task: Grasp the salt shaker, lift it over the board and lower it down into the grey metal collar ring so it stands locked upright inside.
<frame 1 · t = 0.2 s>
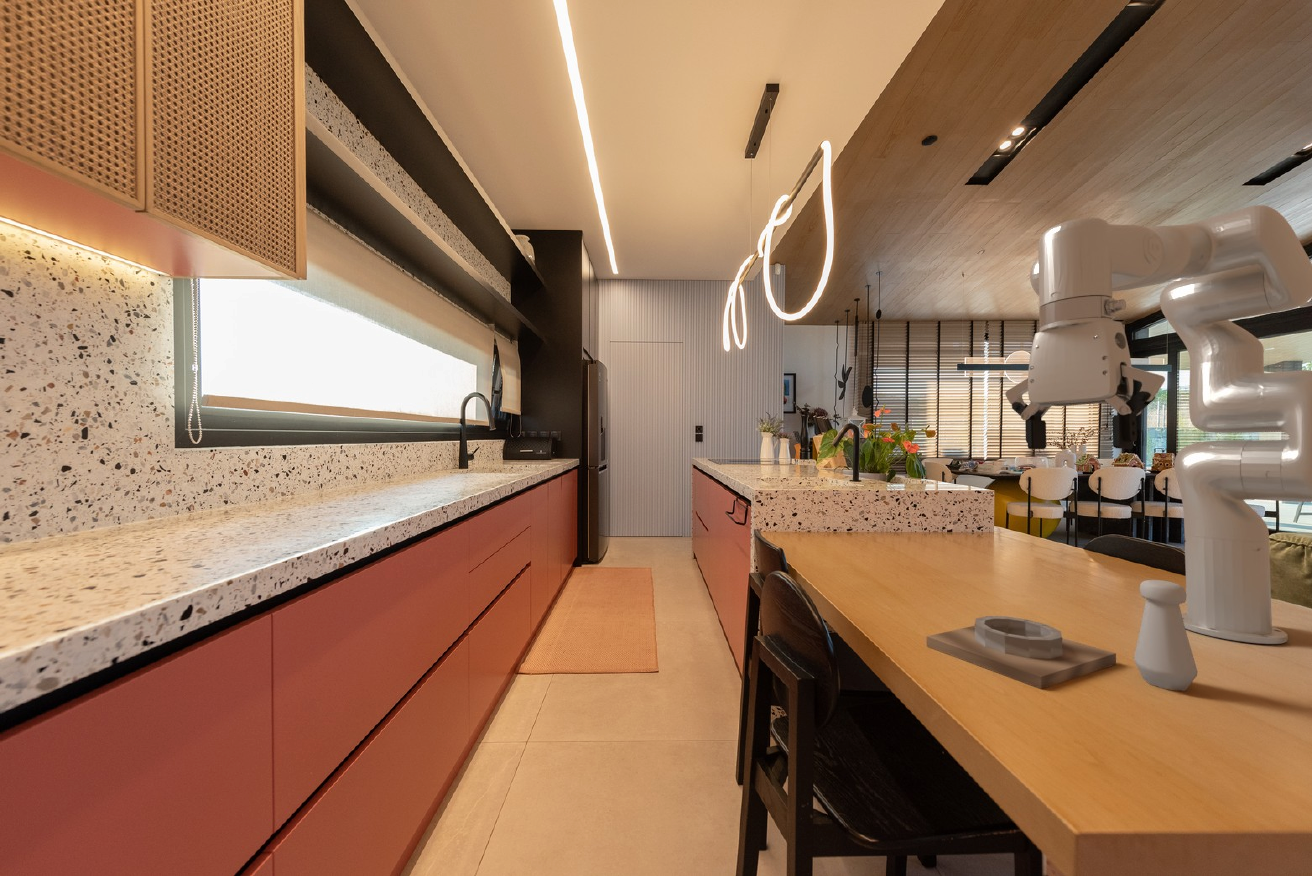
hand: (1077, 448, 68), 30 cm above the table, tool pointing down, fingers open, 9 cm apart
collar board: (1017, 654, 76), on the table
salt shaker: (1165, 685, 67), on the table
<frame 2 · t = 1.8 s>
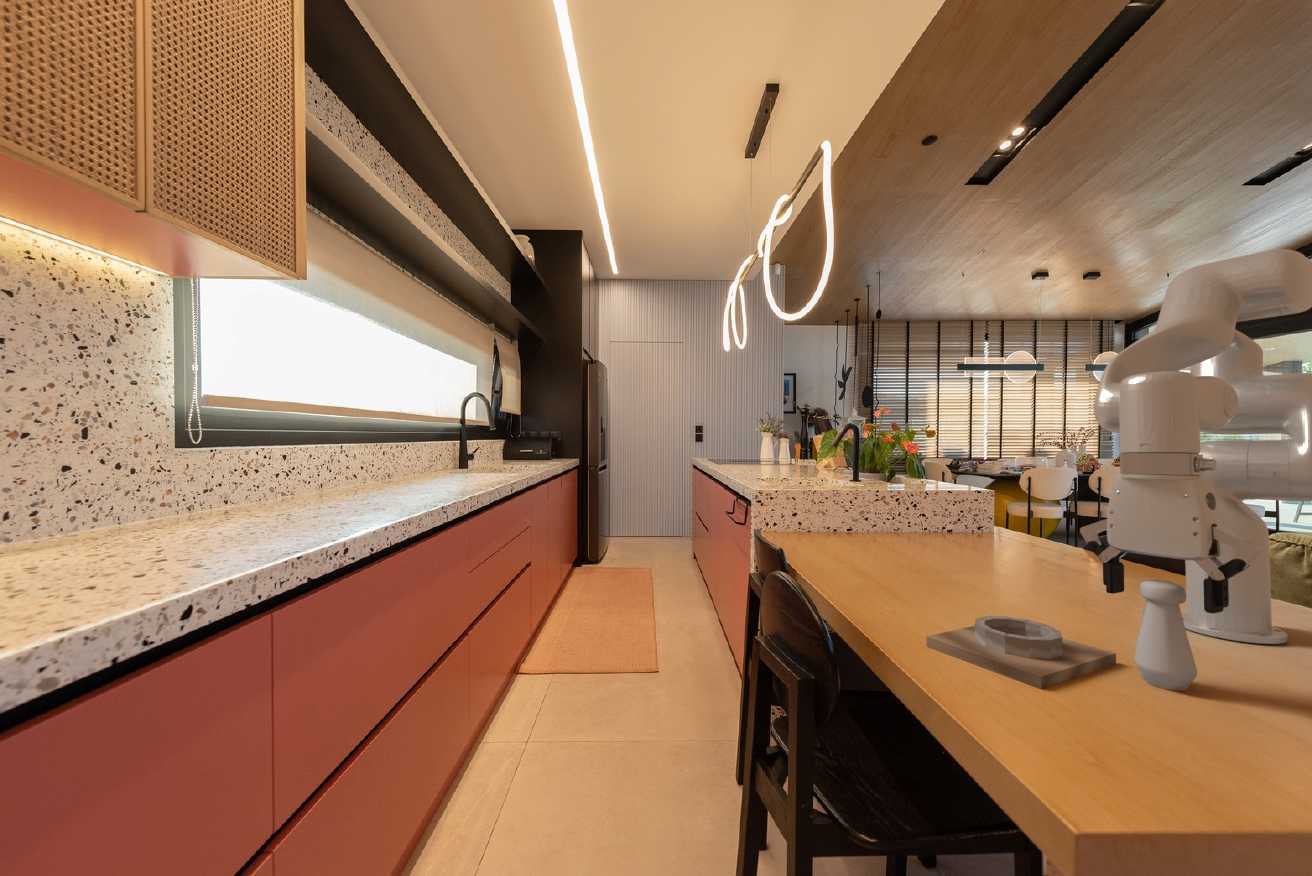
hand: (1161, 601, 67), 11 cm above the table, tool pointing down, fingers open, 9 cm apart
nothing on the table moved.
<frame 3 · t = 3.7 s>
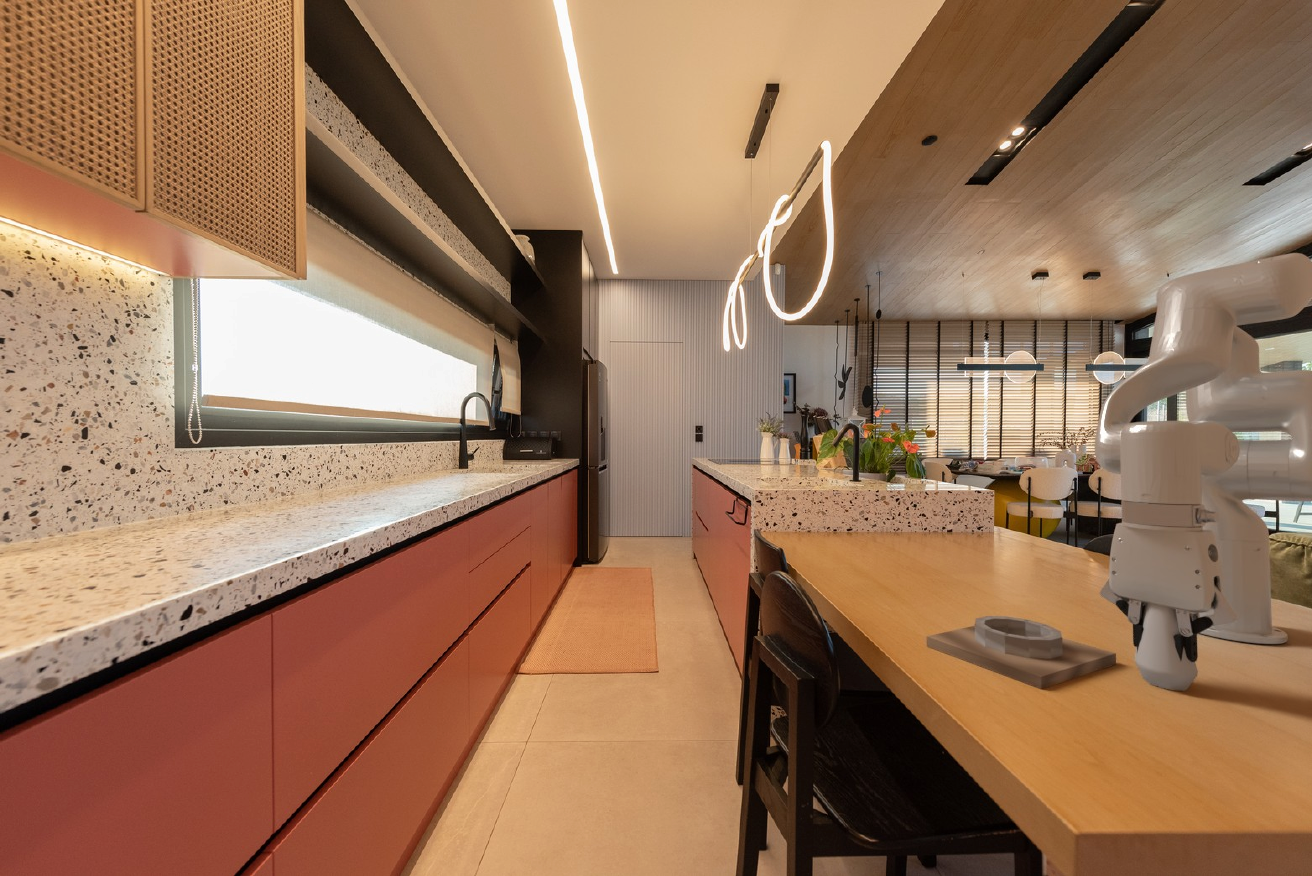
hand: (1164, 658, 67), 3 cm above the table, tool pointing down, fingers closed on salt shaker, 3 cm apart
salt shaker: (1165, 685, 67), on the table, touching gripper
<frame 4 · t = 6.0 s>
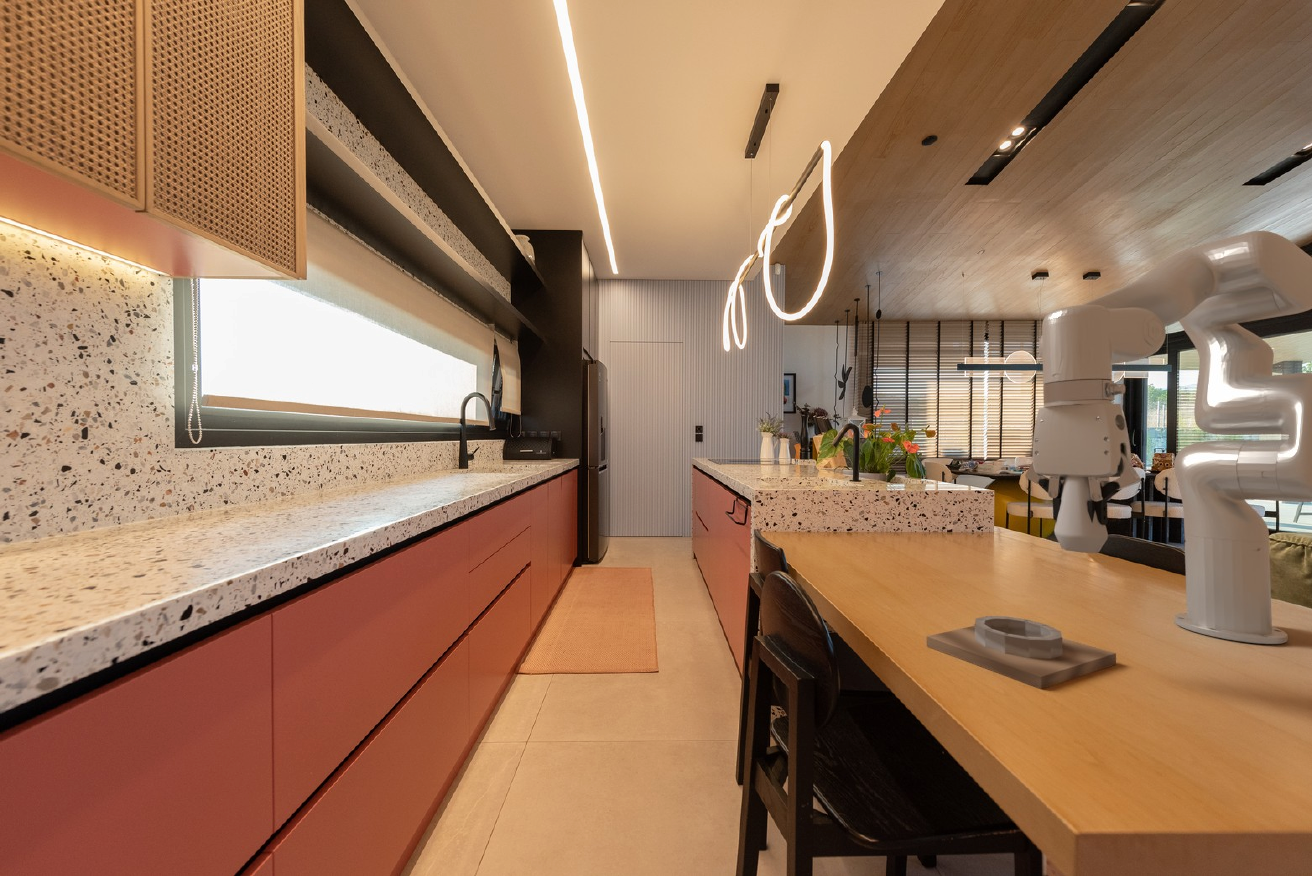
hand: (1079, 526, 72), 19 cm above the table, tool pointing down, fingers closed on salt shaker, 3 cm apart
salt shaker: (1080, 551, 72), point 16 cm above the table, touching gripper
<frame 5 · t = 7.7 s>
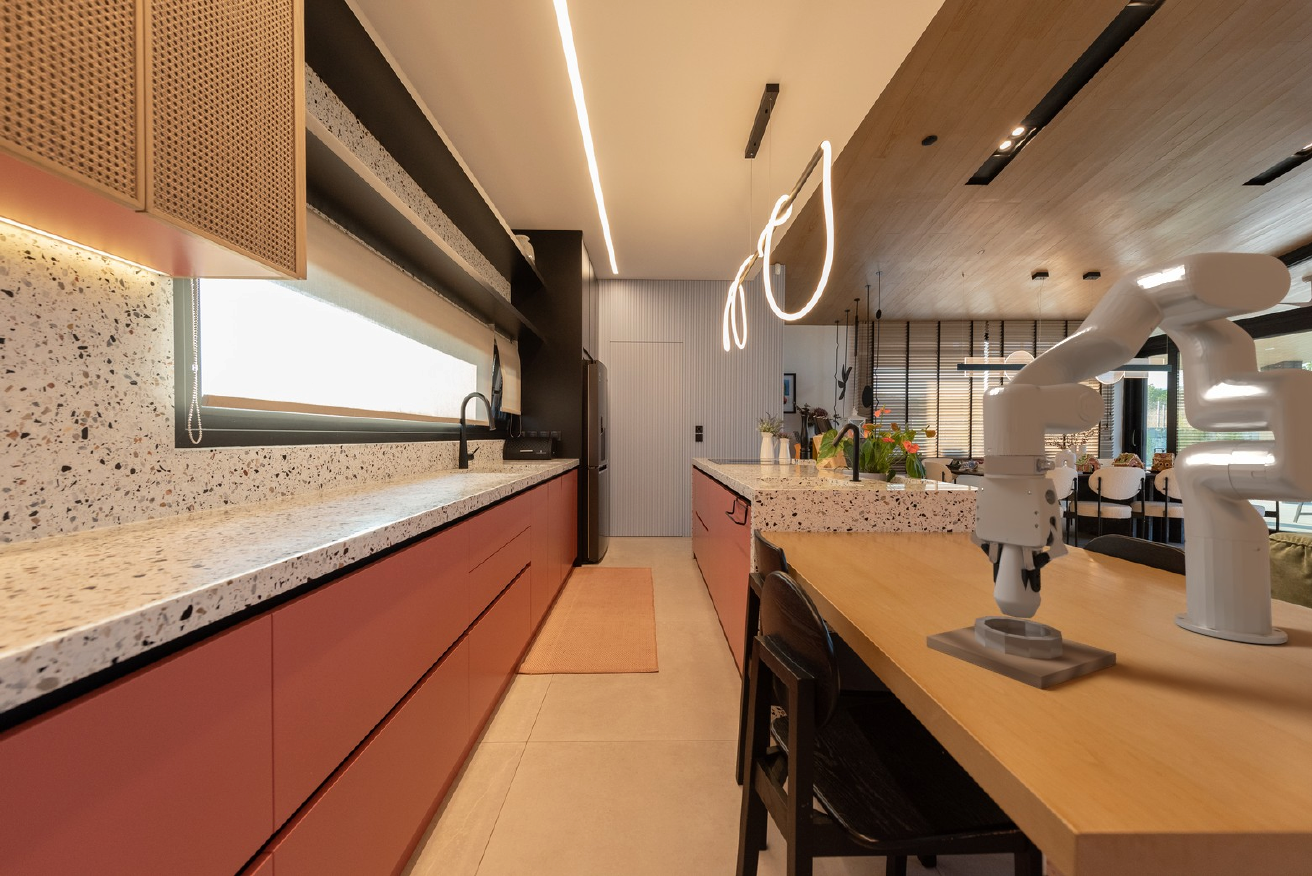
hand: (1016, 591, 77), 9 cm above the table, tool pointing down, fingers closed on salt shaker, 3 cm apart
salt shaker: (1017, 615, 77), point 6 cm above the table, touching gripper
when the fingers open (6 cm above the table, at t = 8.7 s): salt shaker stays where it is, resting on collar board.
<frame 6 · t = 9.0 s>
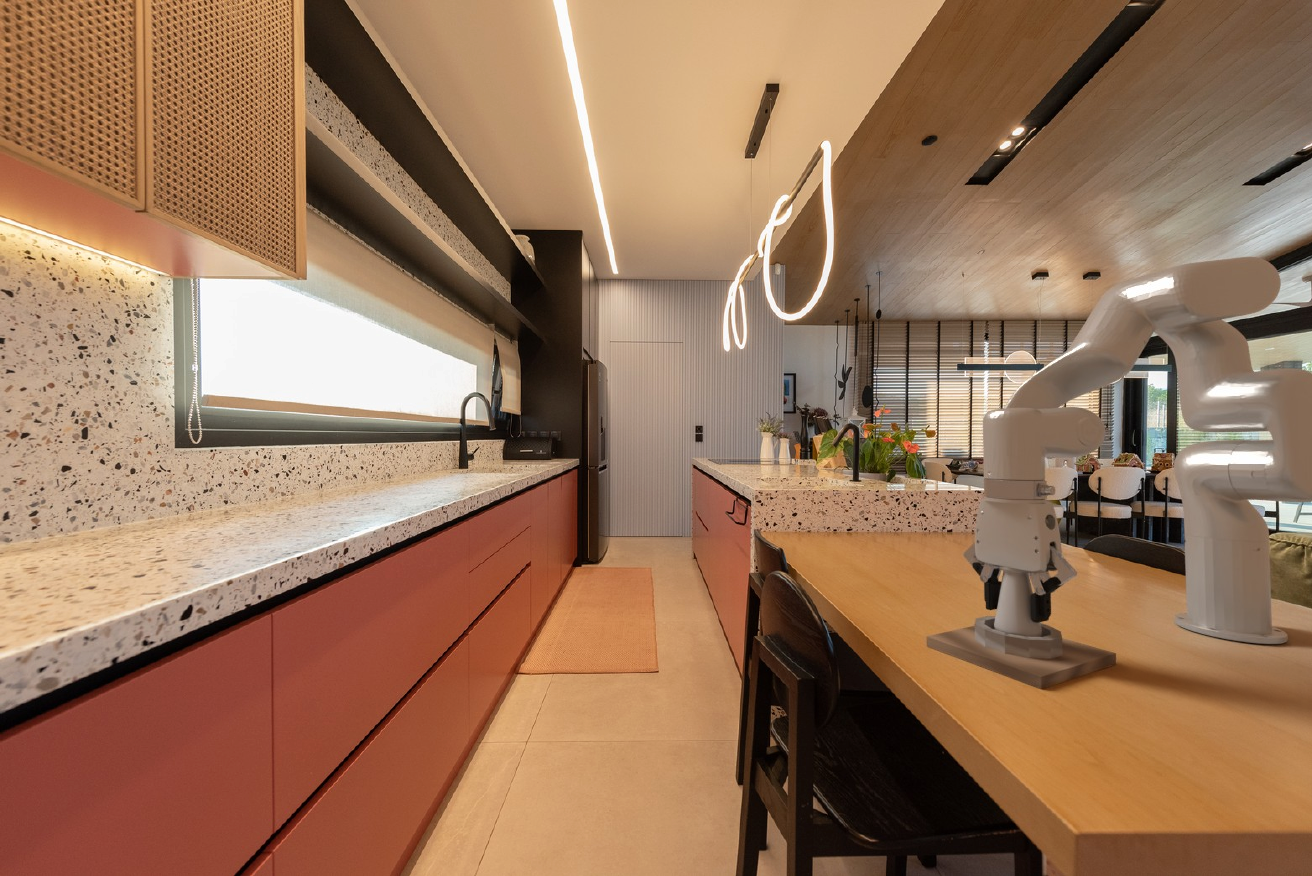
hand: (1016, 613, 77), 6 cm above the table, tool pointing down, fingers open, 5 cm apart
salt shaker: (1017, 645, 76), point 1 cm above the table, touching collar board
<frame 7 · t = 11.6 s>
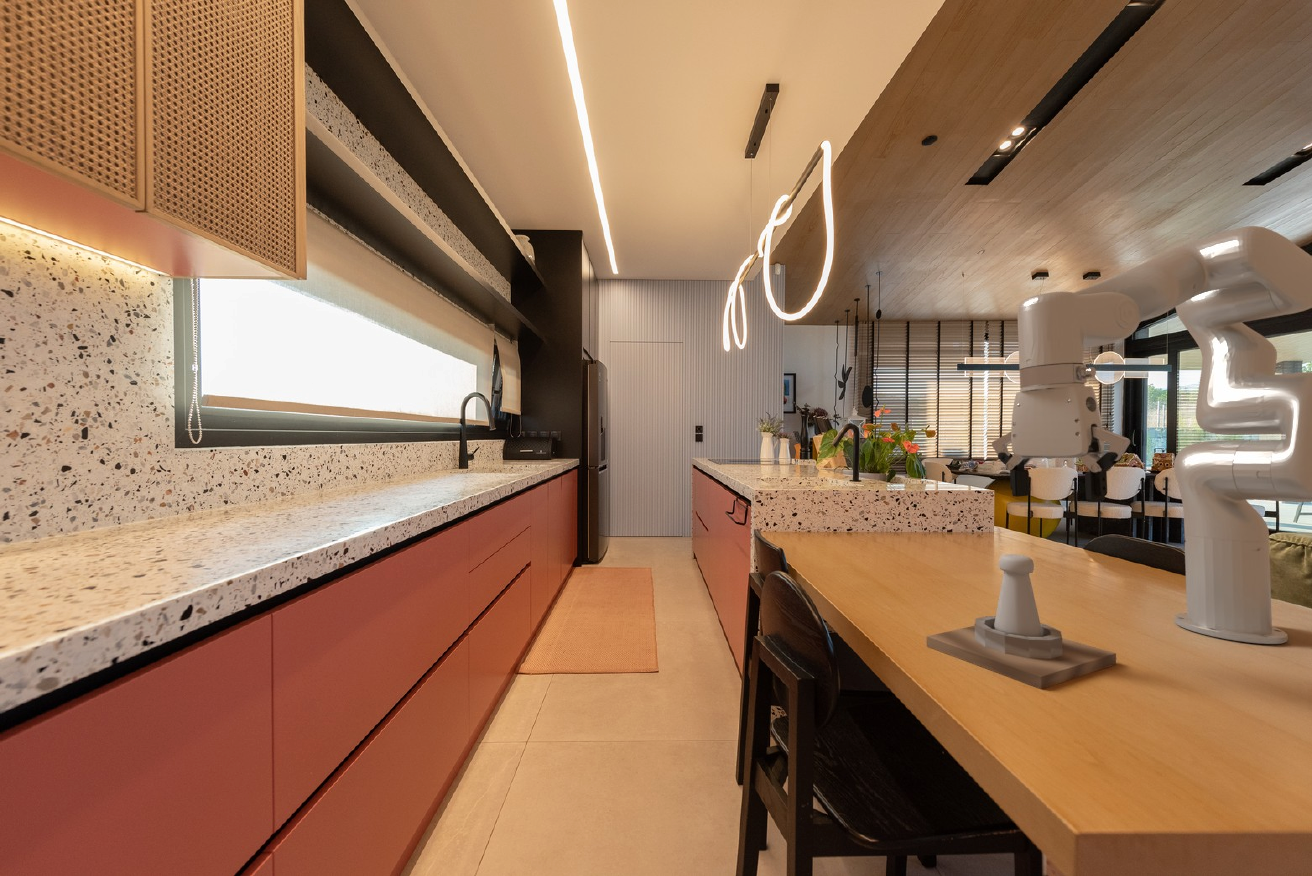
hand: (1056, 498, 75), 23 cm above the table, tool pointing down, fingers open, 9 cm apart
nothing on the table moved.
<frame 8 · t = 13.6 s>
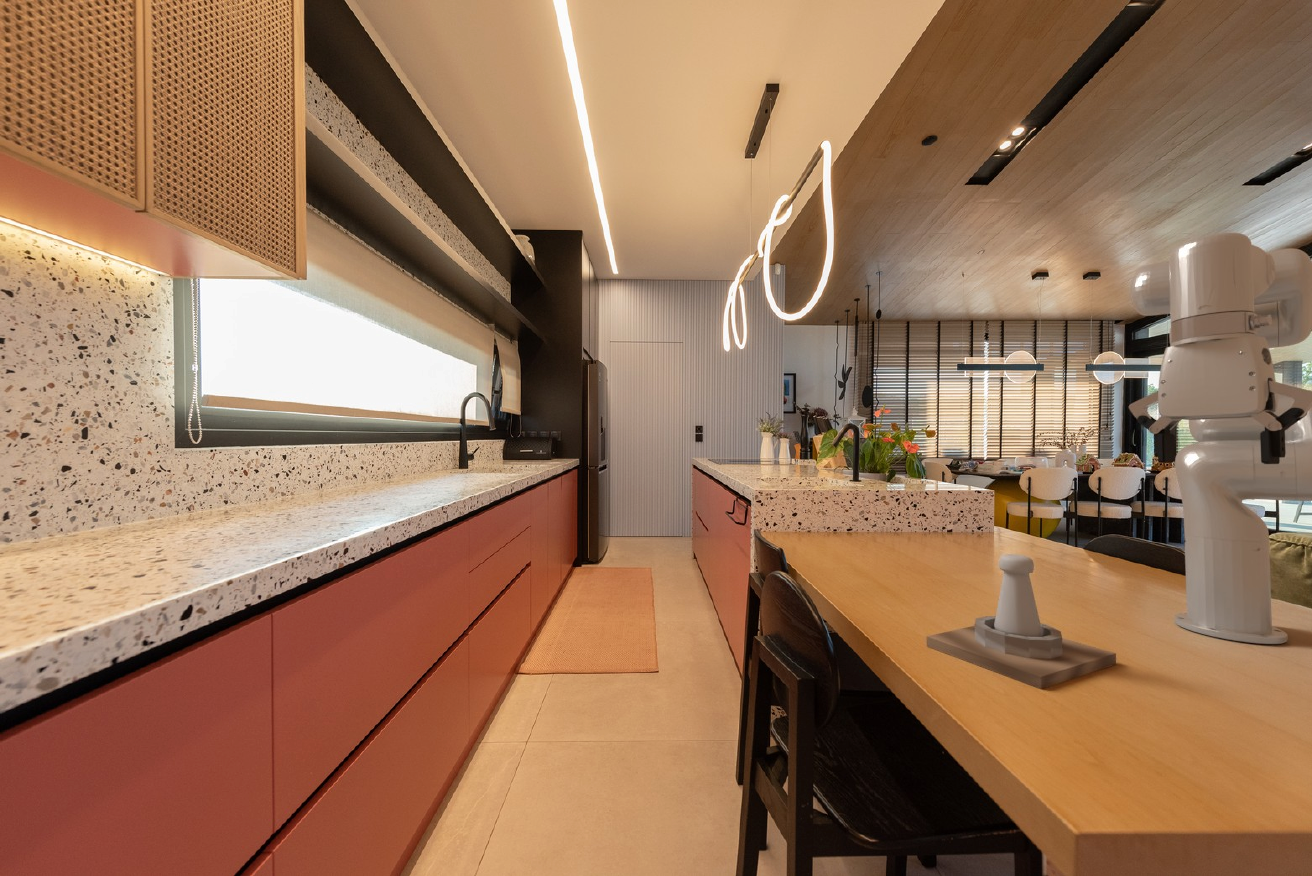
hand: (1215, 463, 68), 28 cm above the table, tool pointing down, fingers open, 9 cm apart
nothing on the table moved.
at the end: salt shaker 0.1 cm off-centre on the collar board, point 1.3 cm above the collar board's base; salt shaker tilted 0°; the gripper is holding nothing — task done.
